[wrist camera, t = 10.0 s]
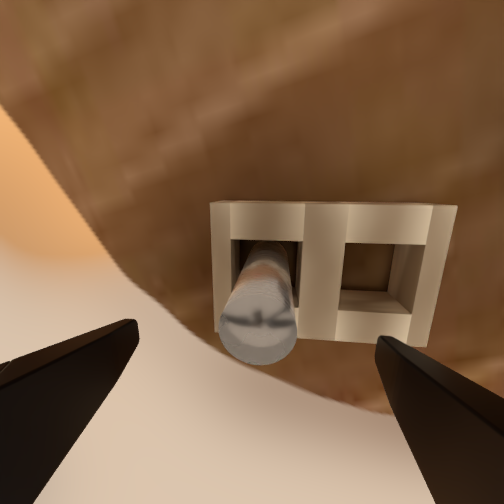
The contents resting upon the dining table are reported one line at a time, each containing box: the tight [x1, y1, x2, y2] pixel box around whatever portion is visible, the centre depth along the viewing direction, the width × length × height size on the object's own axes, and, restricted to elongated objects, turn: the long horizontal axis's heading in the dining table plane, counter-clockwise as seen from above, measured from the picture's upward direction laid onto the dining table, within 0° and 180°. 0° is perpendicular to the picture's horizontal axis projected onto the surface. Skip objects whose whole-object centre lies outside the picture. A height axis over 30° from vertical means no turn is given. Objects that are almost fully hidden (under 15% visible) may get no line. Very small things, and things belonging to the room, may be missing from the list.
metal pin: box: [218, 240, 297, 365], centre depth 14 cm, size 3×3×10 cm
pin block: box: [210, 200, 458, 347], centre depth 17 cm, size 14×9×4 cm, turn 90°
